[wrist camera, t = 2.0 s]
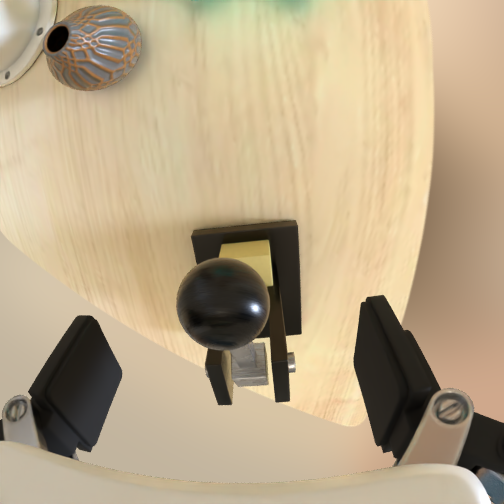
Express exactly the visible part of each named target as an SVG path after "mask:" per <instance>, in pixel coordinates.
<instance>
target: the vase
mask: <svg viewBox="0 0 504 504" xmlns="http://www.w3.org/2000/svg"><path fill="white" fill-rule="evenodd" d="M43 51H44V53H45V54H46V58H47V64H48V67H49V69H50V71H51V73H52V75H53V76H54V77H55V78H56V79H57V80H58V81H59V82H61V83H62V84H64V85H65V86H67V87H70V88H72V89H76V90H83V91H91V90H99V89H103V88H106V87H109V86H111V85H113V84H115V83H117V82H118V81H120V80H121V79H122V78H124V77H125V76H126V75H127V74H128V73H129V72H130V71H131V69H132V68H133V67H134V65H135V64H136V62H137V60H138V57H139V55H140V51H141V35H140V31H139V28H138V26H137V24H136V23H135V21H134V20H133V19H132V18H131V17H130V16H129V15H128V14H126V13H125V12H123V11H121V10H119V9H117V8H114V7H110V6H102V5H98V6H89V7H85V8H82V9H79V10H77V11H75V12H73V13H71V14H70V15H68V16H67V17H66V18H65V19H63V20H62V21H61V22H58V23H56V24H54V25H53V26H52V27H51V28H50V29H49V30H48V31H47V33H46V35H45V37H44V40H43Z"/></svg>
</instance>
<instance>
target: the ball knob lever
mask: <svg viewBox="0 0 504 504" xmlns="http://www.w3.org/2000/svg"><path fill="white" fill-rule="evenodd" d="M176 308H177V314H178V317H179V321H180V323H181V325H182V327H183V328H184V330H185V331H186V333H187V334H188V335H189V336H190V337H191V338H192V339H193V340H194V341H196V342H197V343H199V344H200V345H202V346H204V347H207V348H209V349H213V350H219V351H228V350H229V351H230V353H231V373H232V380H233V381H234V382H235V384H236V385H237V386H238V387H242V386H260V385H268V384H269V382H268V366H267V353H266V349H265V344H264V343H253V342H252V341H253V340H254V339H255V338H256V337H257V336H258V335H259V334H260V333H261V331H262V330H263V328H264V326H265V324H266V322H267V319H268V316H269V311H270V298H269V293H268V290H267V287H266V285H265V283H264V281H263V279H262V278H261V276H260V275H259V274H258V273H257V272H256V271H255V270H254V269H253V268H252V267H250V266H249V265H247V264H246V263H244V262H242V261H239V260H236V259H232V258H213V259H209V260H207V261H204V262H202V263H200V264H198V265H197V266H195V267H194V268H193V269H192V270H191V271H190V272H189V273H188V274H187V275H186V276H185V278H184V279H183V281H182V283H181V285H180V287H179V290H178V293H177V303H176Z"/></svg>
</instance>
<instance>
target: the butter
mask: <svg viewBox="0 0 504 504" xmlns="http://www.w3.org/2000/svg"><path fill="white" fill-rule="evenodd" d="M219 258H232V259H236V260H239V261H242V262H244V263H246V264H247V265H249V266H250V267H252V268H253V269H254V270H255V271H256V272H257V273H258V274H259V275H260V276H261V278H262V279H263V281H264V283H265V285H266V287H267V286H273V278H272V267H271V256H270V246H269V240H260V241H250V242H240V243H230V244H222V245H221V250H220V254H219Z"/></svg>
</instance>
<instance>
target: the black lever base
mask: <svg viewBox="0 0 504 504" xmlns="http://www.w3.org/2000/svg"><path fill="white" fill-rule="evenodd" d="M191 239H192V243H193V248H194V253H195V257H196V262H197V265H198V264H200V263H202V262H204V261H207V260H209V259H213V258H219V254H220V250H221V245H222V244H230V243H240V242H250V241H260V240H269V246H270V256H271V267H272V278H273V286H267V290H268V293H269V298H270V311H269V316H268V319H267V322H266V324H265V326H264V328H263V330H262V331H261V333H260V334H259V335H258V336H257V337H256V338H267V337H270V346H271V363H272V373H273V383H274V392H275V402H288V401H290V388H289V373H292V372H295V370H296V369H295V356H294V352H290V353H287V345H286V336H289V335H298V334H301V333H302V329H301V288H300V261H299V239H298V225H297V222H296V220H293V221H282V222H271V223H261V224H251V225H241V226H231V227H222V228H213V229H203V230H194V231H193V233H192V236H191ZM205 371H206V375H207V377H208V378H209V379H210V382H211V385H212V388H213V391H214V394H215V397H216V400H217V403H218V405H232V398H233V382H234V381H233V380H232V373H231V353H230V351H229V350H228V351H219V350H213V349H209V348H208V351H207V357H206V361H205Z"/></svg>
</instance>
